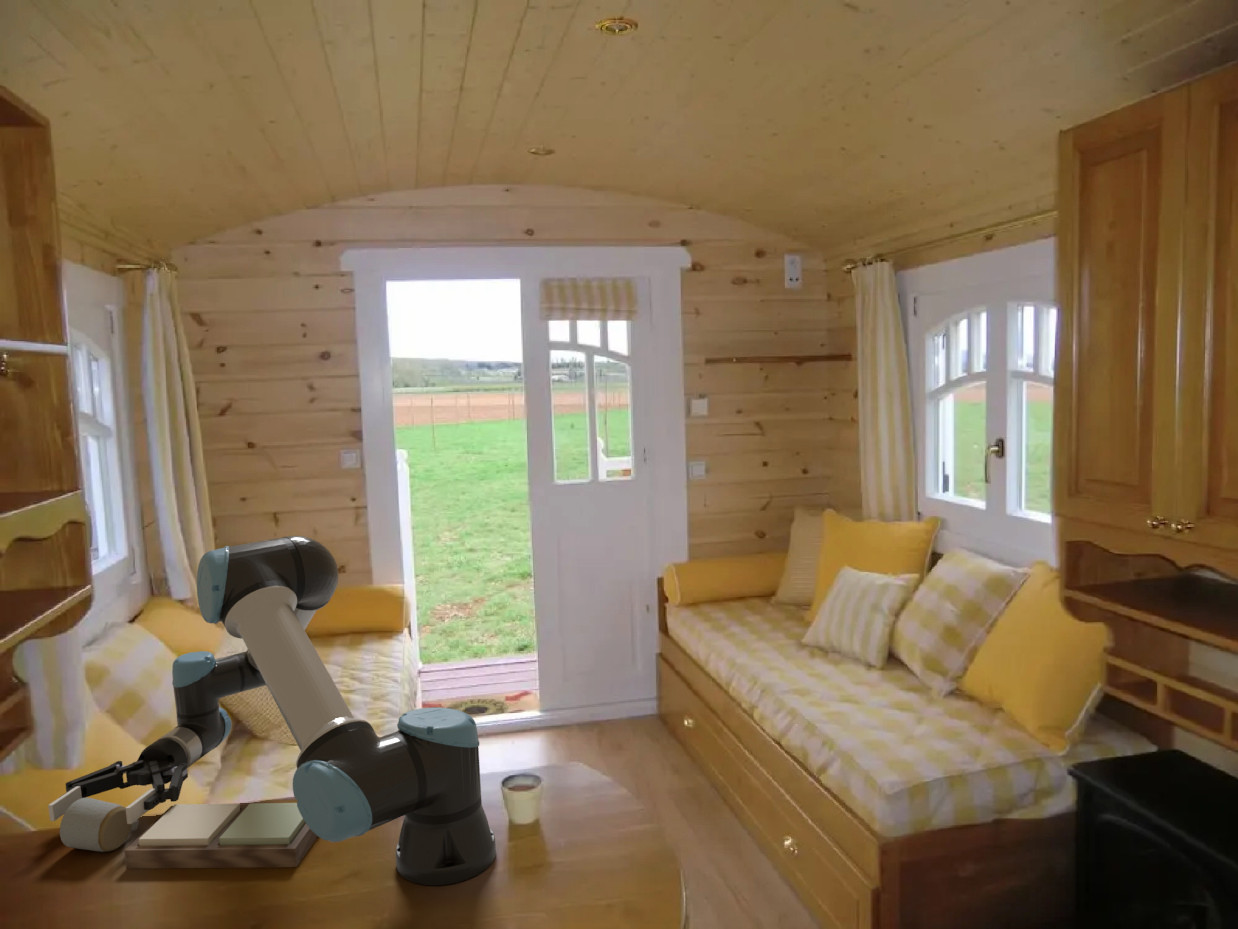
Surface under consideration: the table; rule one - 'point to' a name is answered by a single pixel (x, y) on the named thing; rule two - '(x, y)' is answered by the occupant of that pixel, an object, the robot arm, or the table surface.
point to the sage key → (265, 825)
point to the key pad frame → (220, 853)
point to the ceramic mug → (95, 825)
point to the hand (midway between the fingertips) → (89, 814)
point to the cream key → (190, 825)
